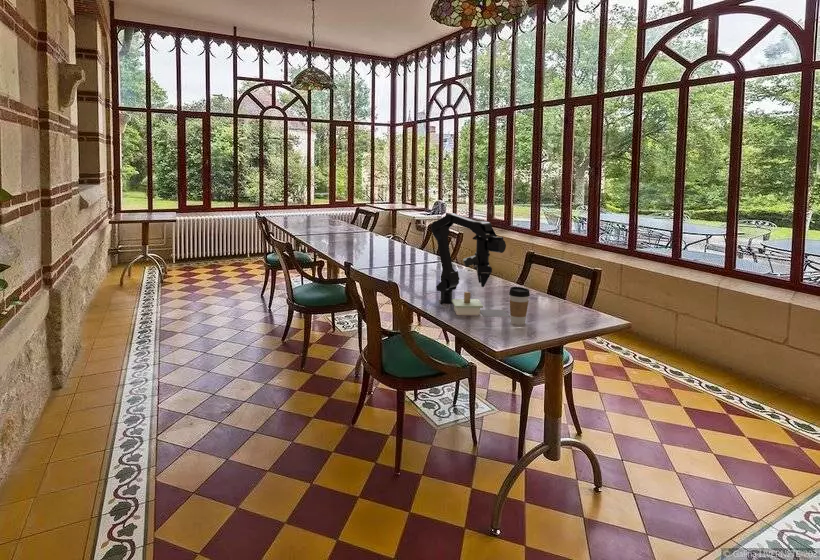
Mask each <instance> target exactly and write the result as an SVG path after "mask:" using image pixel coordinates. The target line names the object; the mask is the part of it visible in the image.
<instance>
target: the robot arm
mask: <svg viewBox="0 0 820 560" xmlns="http://www.w3.org/2000/svg"><path fill="white" fill-rule="evenodd" d="M453 225H458V226H460V227H463V228H466V229H469V230H470V231H471V232H472V233H474V234H475V235H474V236H473V237H472V240H475V241H476V247H475V248H476V250H475V252H474V255H471V256H467V257H465V258H463V259H462V261H463V264H464V266H465V267H466V268H469V267H470V266H472V267H473V269H474V270H475V271H476V274H477V275H476V276H477V281H478V283H480V286H481V287H482V288H484V287H485V286H486V284H487V281H488V280H489V278H490V276H491V275H492V272H493V268H492V266H491V265H490V255H491V253H490V252H492V253H499V254H503V253H504V252H505V251H506V248H507V243H506V241H505V240H504V237H503V236H498V235H497V234H496V232H495V230H494V228H493V225H492V223H491V222H489V221H484V220H474V219H471V218H468V217H467V216H463V215H460V214H457V213H454V212H453V213H447V214H446V215H445V216H443V217H440V218H439V219H437V220H435V221H433V222H431V224H430V231H431V233H432V236H433V237H434V238H435V239H436V242H437V246H438V254H439V258H440V263H441V268H442V271H441V275H440V281H439V282H438V284H436V287H435V288H436V290H437V291H438V292H440V295H439V296H440V299H438V302H439V304H440V305H445V304H447V305H449V304H450V305H454V304H453V303H452V299H453V291H454V290H457V287H458V285H459V284H460V280H461V279H460V275H459V271H456V270H455V269H454V267H453V262H452V257H451V251H450V250H451V249H450V246H449V241H448V240H449V239H448V238H449V235H450V228H451V227H452V226H453Z"/></svg>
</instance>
